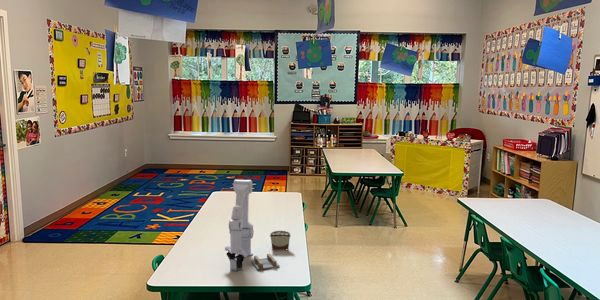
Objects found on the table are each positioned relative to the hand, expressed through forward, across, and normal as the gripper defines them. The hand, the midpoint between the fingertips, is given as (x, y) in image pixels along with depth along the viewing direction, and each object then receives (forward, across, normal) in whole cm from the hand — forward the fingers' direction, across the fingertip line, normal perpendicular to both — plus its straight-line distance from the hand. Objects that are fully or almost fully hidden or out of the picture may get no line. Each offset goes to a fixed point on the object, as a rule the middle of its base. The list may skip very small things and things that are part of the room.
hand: (236, 266), depth 233 cm
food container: (+2, 0, +37) cm, 37 cm away
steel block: (+2, 0, 0) cm, 2 cm away
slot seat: (+2, +8, +14) cm, 16 cm away
